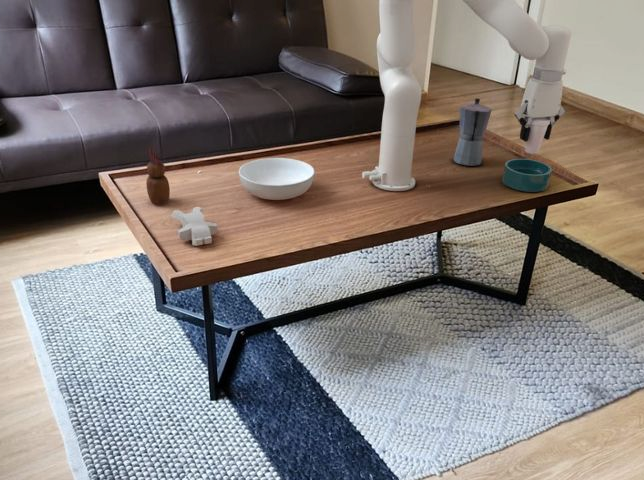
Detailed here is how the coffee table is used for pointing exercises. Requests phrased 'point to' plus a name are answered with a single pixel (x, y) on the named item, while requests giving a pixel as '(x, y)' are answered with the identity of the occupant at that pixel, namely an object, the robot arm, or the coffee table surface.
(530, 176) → the bowl
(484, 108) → the moka pot
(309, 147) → the coffee table surface
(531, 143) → the smoothie
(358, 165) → the coffee table surface
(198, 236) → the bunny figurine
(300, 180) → the serving bowl
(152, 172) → the wooden figurine
